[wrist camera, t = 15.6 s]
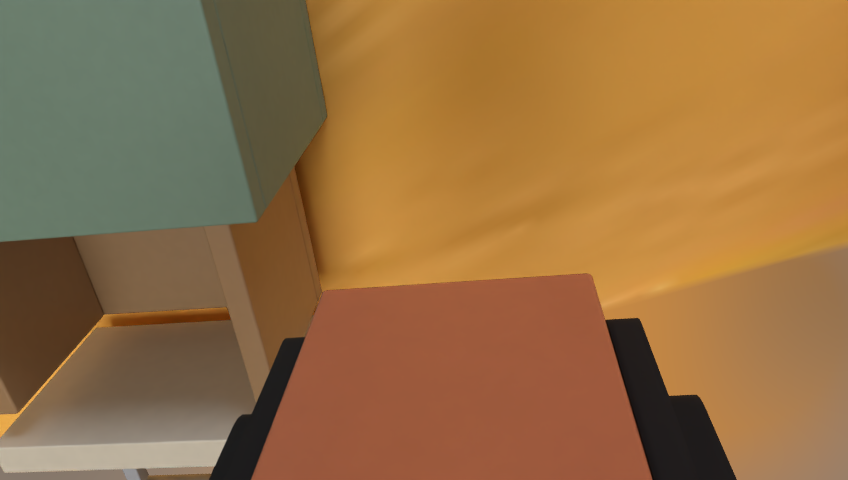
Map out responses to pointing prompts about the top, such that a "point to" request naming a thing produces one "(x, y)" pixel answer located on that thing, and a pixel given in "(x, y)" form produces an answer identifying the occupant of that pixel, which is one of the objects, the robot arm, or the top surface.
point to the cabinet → (150, 112)
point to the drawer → (147, 339)
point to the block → (457, 387)
